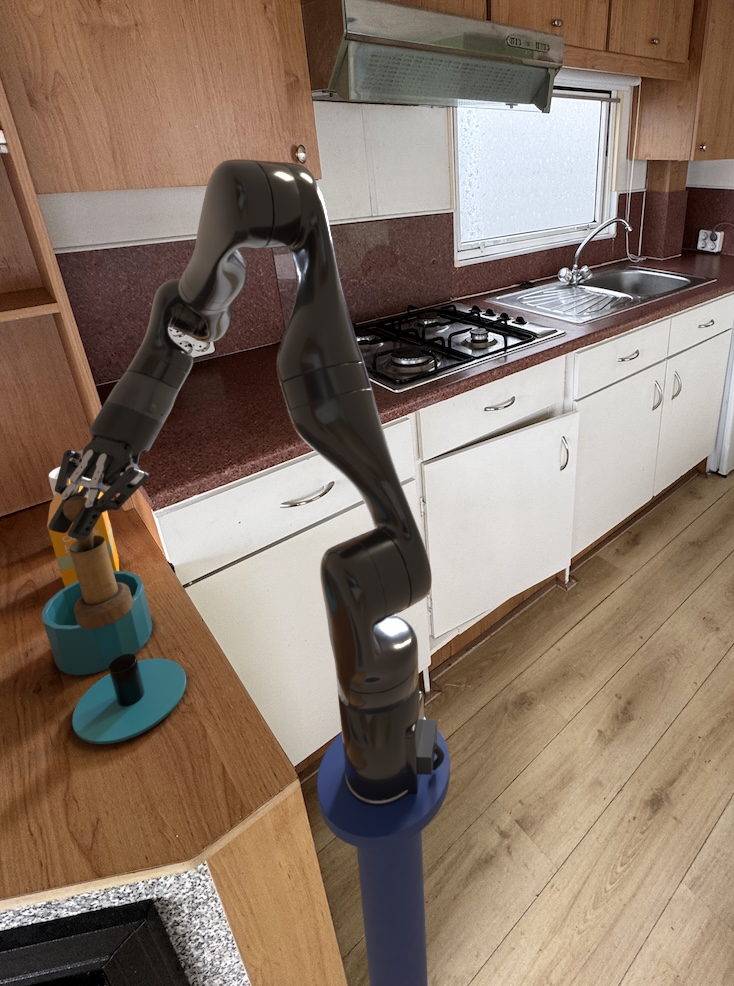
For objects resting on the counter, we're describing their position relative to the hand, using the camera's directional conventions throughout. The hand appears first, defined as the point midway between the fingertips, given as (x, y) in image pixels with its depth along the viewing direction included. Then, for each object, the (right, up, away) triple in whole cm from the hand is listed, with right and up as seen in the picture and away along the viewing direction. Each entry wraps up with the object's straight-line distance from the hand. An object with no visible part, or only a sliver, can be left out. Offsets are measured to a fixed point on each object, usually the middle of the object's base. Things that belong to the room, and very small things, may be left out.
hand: (66, 534), depth 73 cm
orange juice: (-18, -16, +31) cm, 39 cm away
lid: (+4, -25, +7) cm, 26 cm away
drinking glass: (-28, -12, +42) cm, 52 cm away
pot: (-7, -21, +17) cm, 28 cm away
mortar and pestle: (0, -13, +7) cm, 14 cm away
